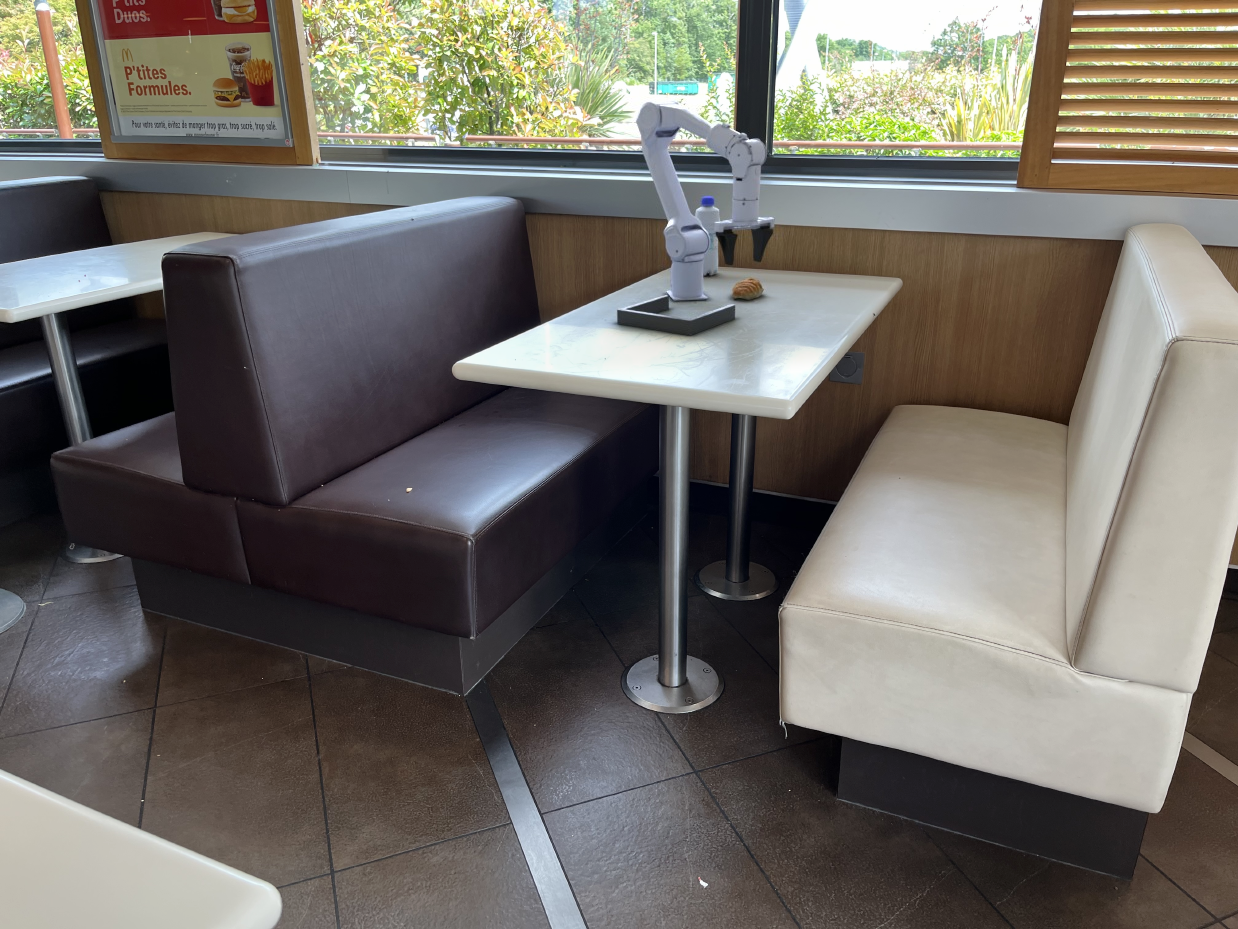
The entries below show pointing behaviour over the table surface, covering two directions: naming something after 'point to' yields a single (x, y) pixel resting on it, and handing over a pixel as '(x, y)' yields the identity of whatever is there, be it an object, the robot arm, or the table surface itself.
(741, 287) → the pastry
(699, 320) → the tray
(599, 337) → the table surface
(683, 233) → the robot arm
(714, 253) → the bottle
